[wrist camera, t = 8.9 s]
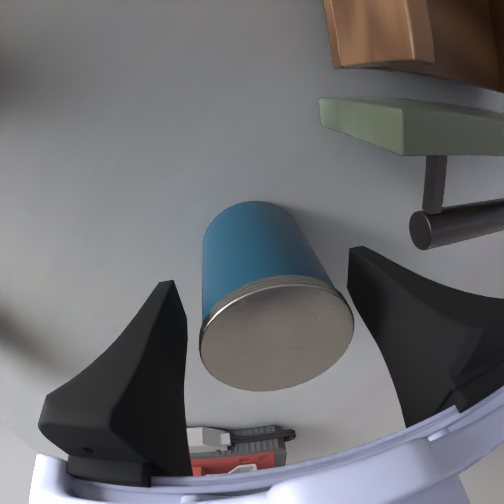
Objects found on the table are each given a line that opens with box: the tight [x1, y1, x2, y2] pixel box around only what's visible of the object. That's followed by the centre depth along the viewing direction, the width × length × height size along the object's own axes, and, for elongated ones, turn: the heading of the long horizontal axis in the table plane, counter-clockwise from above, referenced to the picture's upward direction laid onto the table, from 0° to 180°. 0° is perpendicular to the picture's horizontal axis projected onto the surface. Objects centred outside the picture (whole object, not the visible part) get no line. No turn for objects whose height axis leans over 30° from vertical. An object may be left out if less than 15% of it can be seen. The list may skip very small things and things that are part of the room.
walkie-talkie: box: [186, 426, 296, 476], centre depth 23 cm, size 9×4×20 cm
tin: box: [199, 201, 354, 391], centre depth 12 cm, size 5×5×6 cm
